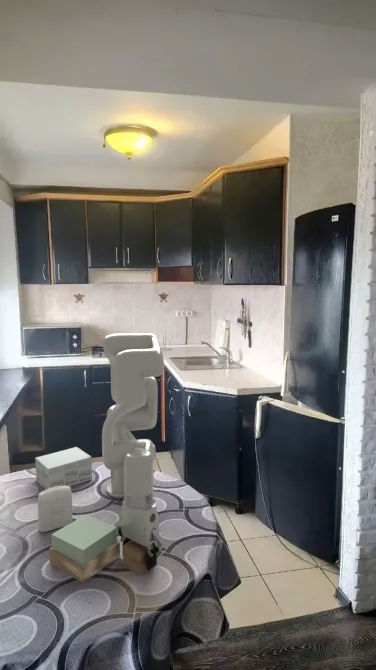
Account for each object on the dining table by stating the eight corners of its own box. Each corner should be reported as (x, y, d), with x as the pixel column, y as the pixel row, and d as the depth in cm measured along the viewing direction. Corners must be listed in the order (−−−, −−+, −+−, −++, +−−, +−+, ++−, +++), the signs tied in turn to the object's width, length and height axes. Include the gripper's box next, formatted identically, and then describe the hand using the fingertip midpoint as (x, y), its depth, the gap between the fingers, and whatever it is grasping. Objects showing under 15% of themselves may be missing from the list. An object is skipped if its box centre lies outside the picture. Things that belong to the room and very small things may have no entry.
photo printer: (70, 518, 136) (69, 480, 135) (74, 524, 133) (73, 486, 131) (36, 528, 131) (35, 489, 129) (40, 534, 127) (39, 495, 126)
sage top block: (86, 527, 124) (85, 514, 123) (117, 541, 117) (116, 527, 117) (51, 548, 114) (51, 534, 113) (83, 565, 107) (83, 550, 107)
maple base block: (88, 540, 125) (87, 526, 124) (120, 557, 117) (119, 542, 117) (49, 564, 115) (49, 548, 114) (82, 584, 107) (81, 567, 106)
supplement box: (77, 468, 173) (76, 446, 172) (92, 480, 163) (91, 456, 162) (35, 480, 163) (34, 456, 162) (48, 493, 152) (47, 468, 151)
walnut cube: (139, 555, 118) (138, 534, 117) (155, 564, 114) (155, 542, 114) (123, 566, 113) (122, 545, 112) (140, 576, 109) (139, 554, 109)
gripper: (174, 502, 109) (174, 566, 111) (125, 483, 120) (126, 542, 122) (154, 514, 103) (154, 582, 105) (104, 493, 114) (106, 555, 116)
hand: (139, 560), depth 113 cm, fingers open, 8 cm apart
